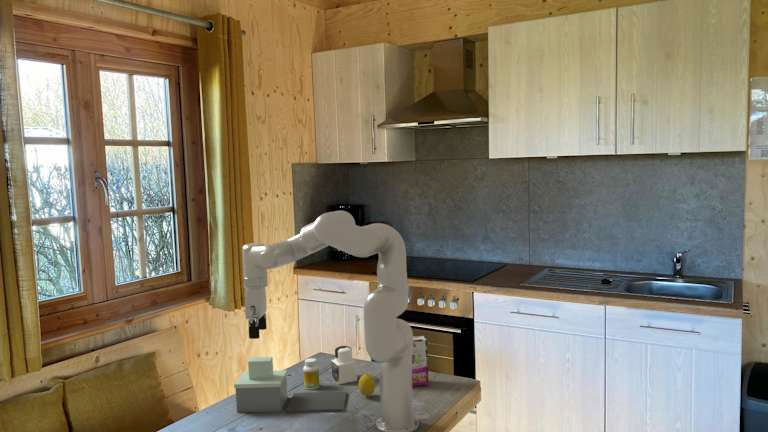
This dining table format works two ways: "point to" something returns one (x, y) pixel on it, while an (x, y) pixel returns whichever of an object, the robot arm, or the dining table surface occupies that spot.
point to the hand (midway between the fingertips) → (258, 333)
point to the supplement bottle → (311, 374)
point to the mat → (317, 402)
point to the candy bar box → (419, 361)
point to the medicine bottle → (344, 366)
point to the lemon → (366, 384)
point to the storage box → (261, 398)
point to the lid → (261, 374)
